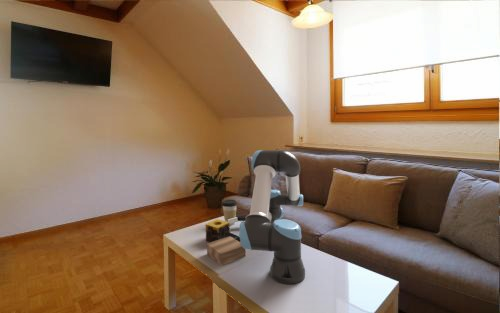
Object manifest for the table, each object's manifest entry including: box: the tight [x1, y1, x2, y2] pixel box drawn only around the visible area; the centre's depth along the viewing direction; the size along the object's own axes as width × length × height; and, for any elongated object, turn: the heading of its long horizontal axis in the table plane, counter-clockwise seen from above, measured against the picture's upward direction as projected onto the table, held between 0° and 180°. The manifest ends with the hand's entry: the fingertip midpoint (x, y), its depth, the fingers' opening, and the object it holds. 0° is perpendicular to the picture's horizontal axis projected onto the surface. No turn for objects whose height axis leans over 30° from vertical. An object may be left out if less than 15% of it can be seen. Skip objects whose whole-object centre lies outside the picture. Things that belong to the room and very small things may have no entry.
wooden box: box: [206, 235, 247, 266], centre depth 135 cm, size 14×14×6 cm
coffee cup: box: [222, 199, 238, 226], centre depth 176 cm, size 10×10×15 cm
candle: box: [205, 218, 231, 243], centre depth 152 cm, size 10×10×10 cm
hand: (233, 225), depth 158 cm, fingers open, 13 cm apart
